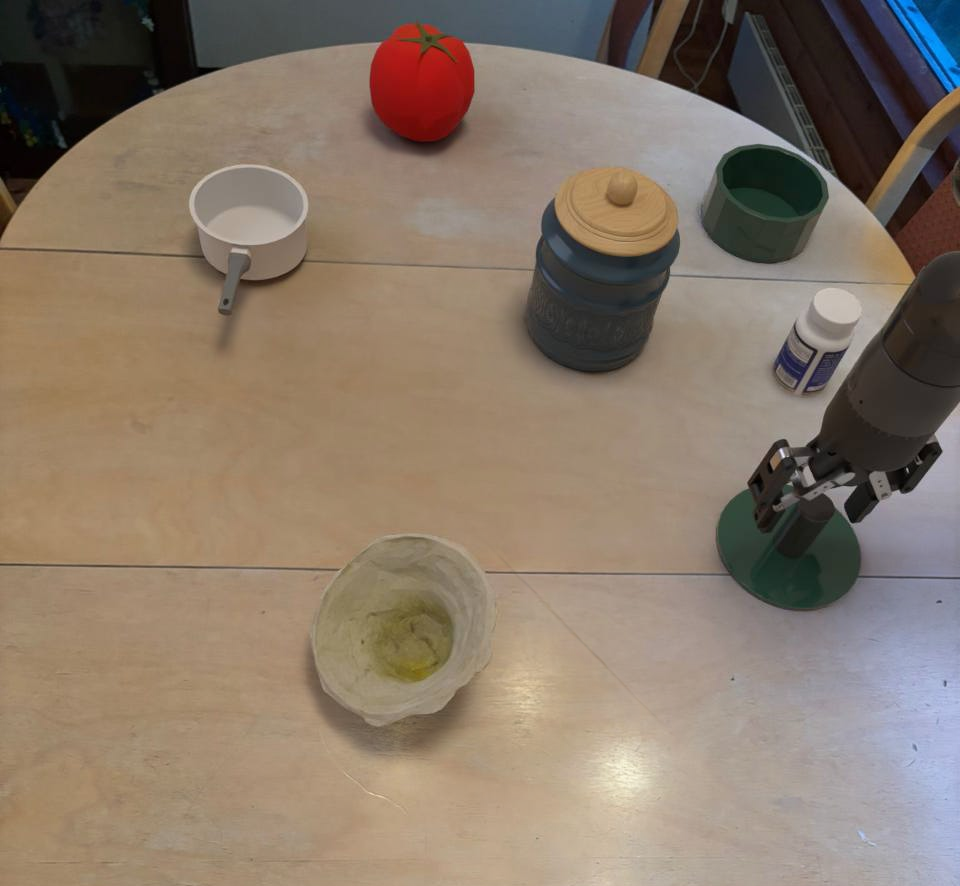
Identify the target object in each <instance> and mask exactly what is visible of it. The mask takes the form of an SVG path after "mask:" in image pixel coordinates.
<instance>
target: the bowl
mask: <svg viewBox="0 0 960 886" xmlns="http://www.w3.org/2000/svg"><path fill="white" fill-rule="evenodd" d="M497 601H498V600H497V593H496V591H495V588H494V586H493V584H492V583H491V581H490V578H489V576H488V575H487V573H486V571H485V569H484V568H483V567H482V566H481V565H480V564H479V562H478V560H477V558H475V556H474V555H473V554H472V553H471V551H470V550H469V549H467V548H466V547H465V546H463V545H461V544H459V543H457V542H455V541H453V540H450V539H446V538H443V537H441V536H436V535H433V534H427V533H419V532H411V533H396V534H387V535H383V536H379V537H377V538H376V539H374V540H372V541H371V542H370V543H369V544H367V545H366V546H365V547H364V548H363V549H362V550H361V551H359V552H358V553H356V555H355V556H354V557H353V558H352V559H350V560H349V561H348V562H347V563H346V564H345V565H344V566H342V567H341V568H340V569H339V570H337V571H336V572H335V574H333V576H332V578H331V579H330V580H329V581H328V582H327V584H326V586H325V588H324V590H323V591H322V593H321V596H320V597H319V601H318V603H317V607H316V610H315V613H314V619H313V623H312V626H311V628H310V631H309V634H308V637H310V641H311V643H310V644H311V652H312V655H313V657H314V666H315V669H316V672H317V674H318V678H319V681H320V685H321V688H322V690H323V691H324V692H323V693H326V694H327V695H328V696H330V697H331V698H332V699H333V700H335V702H337V703H338V704H339V705H340V706H341V707H342V708H344V709H345V710H347V711H350V712H352V713H354V714H356V715H358V716H360V717H362V718H363V719H364V721H365V723H367V724H369V725H371V726H373V727H383V726H388V725H391V724H392V723H395V722H398V721H399V720H402V719H404V718H407V717H409V716H413V715H428V714H435V713H436V712H438V711H440V710H442V709H443V708H444V707H445V706H446V705H447V704H448V703H449V702H450V701H451V699H452V698H453V697H454V696H455V694H456V692H457V691H458V690H459V689H460V688H462V687H463V686H466V685H467V684H468V683H469V682H470V681H471V680H472V678H473V677H475V676H478V674H480V673H481V672H482V671H484V670H485V669H486V668H487V667H488V666H489V664H490V662H491V660H492V659H493V649H492V636H493V633H494V630H495V628H496V624H497V619H498V612H497V607H498V605H497V603H498V602H497Z"/></svg>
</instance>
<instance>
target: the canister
mask: <svg viewBox="0 0 960 886" xmlns="http://www.w3.org/2000/svg"><path fill="white" fill-rule="evenodd" d="M540 222H541V223H540V229H541V231H540V232H541V236H540V237H539V240H538V242H537V244H536V248H535V265H534V270H533V275H532V279H531V280H532V281H531V286H530V288H529V290H528V292H527V298H526V302H525V303H526V304H525V317H526V326H527V330H528V333H529V335H530V337H531V339H532V341H533V343H534V344H535V345H536V346H537V348H538V349H539V350H541V352H542V353H544V354H545V355H546V356H547V357H549V358H550V359H552V360H553V361H555V362H557V363H558V364H561V365H563V366H566V367H568V368H571V369H575V370H580V371H586V372H587V371H588V372H603V371H610V370H614V369H617V368H620V367H622V366H624V365H626V364H628V363H629V362H631V361H632V360H633V359H635V358H636V357H637V356H638V355H639V354H640V352H641V350H642V349H643V347H644V346H645V345H646V343H647V342H648V340H649V338H650V335H651V332H652V330H653V326H654V322H655V315H656V312H657V309H658V307H659V304H660V301H661V299H662V295H663V293H664V291H665V289H666V288H667V286H668V284H669V281H670V276H671V267H672V266H673V264H675V261H676V260H677V258H678V256H679V253H680V248H681V237H680V232H679V229H678V225H679V212H678V209H677V206H676V203H675V202H674V200H673V199H672V197H671V195H670V194H669V193H668V192H667V190H665V188H663V187H662V186H661V185H660V184H658V182H655V180H652V179H651V178H650V177H647V176H646V175H645V174H642V173H641V172H638V171H636V170H634V169H630V168H625V167H621V166H620V167H619V166H601V167H591V168H587V169H583V170H580V171H578V172H576V173H574V174H572V175H570V176H569V177H568V178H566V179H565V180H564V181H563V182H562V183H561V185H560V186H559V187H558V189H557V192H556V194H555V196H554V197H553V198H552V199H551V200H550V201H549V202H548V204H547V205H546V207H545V209H544V210H543V213H542V217H541V221H540Z"/></svg>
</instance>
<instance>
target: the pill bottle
mask: <svg viewBox="0 0 960 886" xmlns="http://www.w3.org/2000/svg"><path fill="white" fill-rule="evenodd" d="M862 314H863V306H862V304H861V302H860V300H859V299H858V297H856V296H855V295H854V294H852V293H851V292H849V291H847V290H845V289H842V288H837V287H826V288H823V289H821V290H819V291H818V292H816V293H815V295H814V296H813V298H812V300H811V302H810V304H809V306H808V307H806V308H804V309H803V310H802V311H801V312H800V313H799V314H798V315H797V317H796V319H795V321H794V323H793V325H792V327H791V329H790V331H789V333H788V335H787V337H786V339H785V341H784V342H783V344H782V347H781V348H780V350H779V352H778V354H777V356H776V358H775V360H774V362H773V364H772V367H771V374H772V378H773V379H774V381H775V383H776V384H777V386H779V388H781V389H782V390H783V391H784V392H786V393H788V394H790V395H792V396H796V397H800V398H812V397H814V396H817V395H819V394H821V393H822V392H823V391H824V389H825V388H826V387H827V385H828V384H829V381H830V380H831V378H832V376H833V375H834V373H835V371H836V370H837V368H838V366H840V365H839V364H840V363H841V361H842V359H843V358H844V356H845V354H846V352H847V351H848V349H849V348H850V346H851V345H852V342H853V340H854V337H855V328H856V327H857V325H858V323H859V321H860V319H861V317H862Z"/></svg>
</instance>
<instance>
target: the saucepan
mask: <svg viewBox="0 0 960 886" xmlns="http://www.w3.org/2000/svg"><path fill="white" fill-rule="evenodd" d="M188 207H189V213H190V215H191V218H192V219H193V222H195V223H196V227H197V232H198V237H199V243H200V247H201V252H202V254H203V256H204V258H205V259H206V261H208V263H209V264H210V265H211V266H212V267H213V268H214V269H216V270H217V271H219V272H220V273H223V274H225V275H226V276H225V280H224V284H223V288H222V291H221V295H220V299H219V303H218V308H217V311H218V314H220V315H221V316H224V317H227V316H231V315H232V313H233V308H234V305H235V300H236V297H237V294H238V290H239V286H240V282H241V280H245V281H249V280H250V281H262V280H269V279H274V278H277V277H279V276H283V275H285V274H286V273H289V272H291V270H294V269H295V268H296V267H297V266H298V265H299V264H300V263H301V262H302V261H303V259H304V257H305V255H306V252H307V250H308V231H307V220H306V219H307V214H308V212H309V200H308V195H307V193H306V191H305V189H304V188H303V186H302V185H301V184H300V182H298V181H297V179H294V178H293V177H292V176H291V175H289V174H288V173H286V172H284V171H281V170H280V169H276V168H274V167H271V166H266V165H260V164H248V163H247V164H235V165H230V166H225V167H222V168H220V169H217V170H215V171H213V172H211V173H209V174H207V175H205V176H204V177H203V178H202V179H200V180H199V181H198V182H197V183H196V185H195V186H194V188H192V191H191V193H190V196H189V200H188Z"/></svg>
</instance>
